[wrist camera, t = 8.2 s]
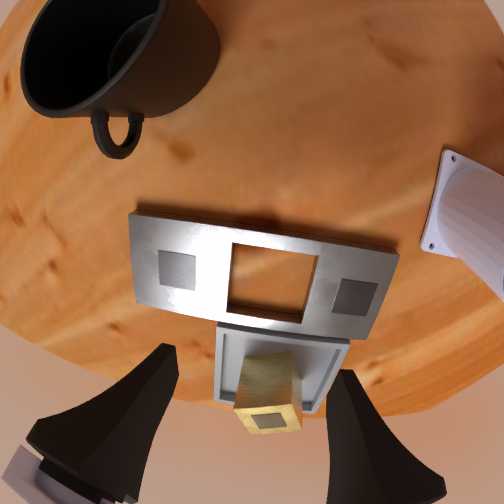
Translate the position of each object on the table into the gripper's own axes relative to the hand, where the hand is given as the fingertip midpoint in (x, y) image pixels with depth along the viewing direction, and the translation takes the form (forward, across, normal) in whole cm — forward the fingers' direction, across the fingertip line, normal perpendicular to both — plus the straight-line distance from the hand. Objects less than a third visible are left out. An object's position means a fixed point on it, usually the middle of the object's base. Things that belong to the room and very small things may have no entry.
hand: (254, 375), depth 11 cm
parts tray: (+10, -2, +11) cm, 15 cm away
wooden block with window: (+10, -2, +11) cm, 15 cm away
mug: (+11, +10, -14) cm, 20 cm away
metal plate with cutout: (+10, +1, +1) cm, 10 cm away
